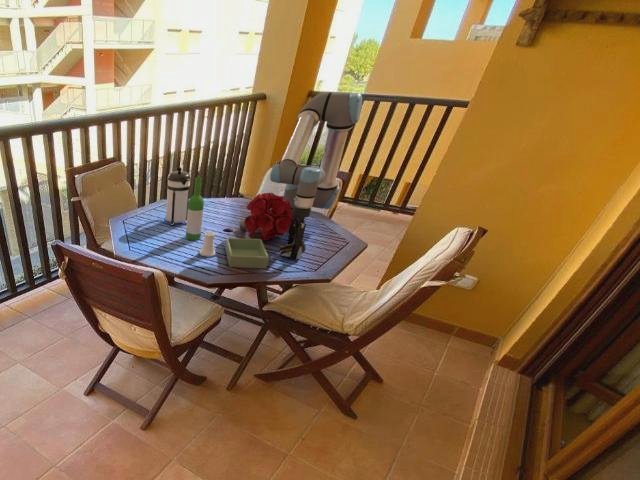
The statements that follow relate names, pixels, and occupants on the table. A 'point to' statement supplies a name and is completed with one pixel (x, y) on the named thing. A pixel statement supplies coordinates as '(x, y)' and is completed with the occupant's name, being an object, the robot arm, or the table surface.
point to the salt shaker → (208, 245)
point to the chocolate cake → (287, 250)
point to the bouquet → (268, 216)
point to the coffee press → (177, 196)
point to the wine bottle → (195, 213)
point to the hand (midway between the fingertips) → (290, 254)
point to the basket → (246, 253)
